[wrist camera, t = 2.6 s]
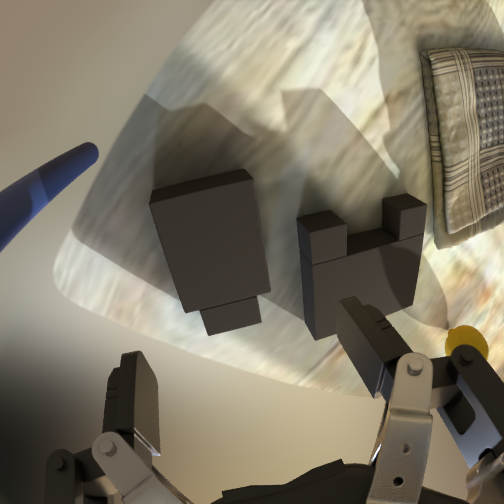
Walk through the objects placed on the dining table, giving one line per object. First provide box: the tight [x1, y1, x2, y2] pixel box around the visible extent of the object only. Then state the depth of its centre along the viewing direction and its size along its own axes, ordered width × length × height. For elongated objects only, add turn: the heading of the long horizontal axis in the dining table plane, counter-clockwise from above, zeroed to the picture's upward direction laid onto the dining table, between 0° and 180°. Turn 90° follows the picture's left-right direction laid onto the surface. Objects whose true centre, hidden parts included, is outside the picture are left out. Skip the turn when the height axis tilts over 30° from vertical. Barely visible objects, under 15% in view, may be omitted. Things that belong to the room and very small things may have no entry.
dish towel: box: [419, 48, 504, 250], centre depth 21 cm, size 19×18×3 cm
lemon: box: [445, 325, 489, 360], centre depth 31 cm, size 6×6×8 cm
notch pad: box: [297, 194, 427, 341], centre depth 24 cm, size 10×10×2 cm
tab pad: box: [149, 169, 271, 336], centre depth 20 cm, size 6×10×2 cm, turn 8°
